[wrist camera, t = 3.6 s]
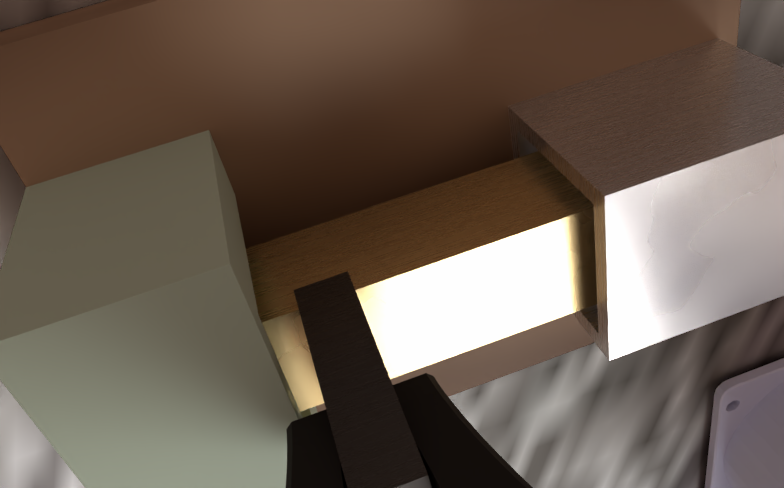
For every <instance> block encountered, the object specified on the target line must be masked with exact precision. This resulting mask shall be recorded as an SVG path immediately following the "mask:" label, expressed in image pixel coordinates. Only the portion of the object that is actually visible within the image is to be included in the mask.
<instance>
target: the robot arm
mask: <svg viewBox="0 0 784 488" xmlns="http://www.w3.org/2000/svg"><path fill="white" fill-rule="evenodd" d="M393 387H394V390H395V392H396V395H397V397H398V400H399V402H400V405H401V407H402V410H403V413H404V415H405V418H406V420H407V423H408V425H409V428H410V430H411V433H412V435H413V438H414V441H415V443H416V446H417V448H418V451H419V453H420V456H421V458H422V461H423V463H424V466H425V468H426V471H427V474H428V476H429V480H430V483H431V487H432V488H532V487H531V486H530V485H529V484H528V483H527V482H526V481H525V480H524V479H523V478H522V477H521V476H520V475H519V474H518V473H517V472H516V471H515V470H514V469H513V468H512V467H511V466H510V465H509V464H508V463H507V462H506V461H505V460H504V459H503V458H502V457H501V456H500V455H499V454H498V453H497V452H496V451H495V450H494V449H493V448H492V447H491V446H490V445H489V444H488V443H487V442H486V441H485V440H484V439H483V437H482V436H481V435H480V434H479V433H478V432H477V431H476V430H475V429H474V427H473V426H472V425H471V424H470V423H469V422H468V421H467V419H466V418H465V417H464V416H463V415H462V414H461V412H460V411H459V410H458V409H457V408H456V406H455V405H454V404H453V403H452V401H451V400H450V399H449V397H448V396H447V395H446V393H445V392H444V391H443V389H442V388H441V386H440V385H439V384H438V382H437V381H436V379H435V377H434V376H432V375H430V374H427V373H425V374H422V375H419V376H416V377H414V378H411V379H408V380H405V381H403V382H400V383H397V384H394V385H393ZM286 431H287V473H286V488H347V484H346V480H345V477H344V473H343V469H342V466H341V462H340V459H339V455H338V451H337V448H336V444H335V440H334V437H333V433H332V429H331V426H330V422H329V418H328V415H327V411H326V409H325V410H323V411H320V412H317V413H314V414H312V415H309V416H306V417H303V418H301V419H298V420H295V421H292V422H291V423H290V425H289V426H288V428H287V429H286ZM705 488H784V358H782V359H780V360H777V361H774V362H772V363H769V364H767V365H764V366H761V367H759V368H756V369H754V370H751V371H748V372H746V373H743V374H741V375H738V376H735V377H733V378H730V379H728V380H726V381H724V382H722V383H721V384H720V385H719V386H718V387H717V388H716V391H715V394H714V403H713V413H712V423H711V432H710V442H709V451H708V461H707V470H706V480H705Z"/></svg>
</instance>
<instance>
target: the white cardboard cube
mask: <svg viewBox="0 0 784 488" xmlns="http://www.w3.org/2000/svg"><path fill="white" fill-rule="evenodd" d="M508 113H509V121H510V130H511V139H512V147H513V156H514V159H516V158H519V157H522V156H525V155H528V154H531V153H534V152H537V151H539V152H540V153H541V154H542V155H543V156H544V157H545V158H546V159H547V160H548V161H550V162H551V163H552V164H553V165H554V166H555V167H556V168H557V169H558V170H559V171H560V172H561V173H562V174H563V175H564V176H565V177H566V178H567V179H568V180H569V181H570V182H571V183H572V184H573V185H574V186H575V187H576V188H577V189H578V190H579V191H580V192H581V193H582V194H584V195H585V196H586V197H587V198H588V199H589V200H590V201H591V202H592V203H593V206H594V231H595V257H596V282H597V304H596V305H593V306H590V307H588V308H585V309H582V310H579V311H577V312H574V313H572V314H573V315H574V316H575V318H576V319H577V320H578V321H579V323H580V324H581V325H582V326H583V328H584V329H585V330H586V332H587V333H588V334H589V335H590V337H591V338H592V339H593V341H594V342H595V343H596V344H597V346H598V347H599V348H600V350H601V351H602V352H603V353H604V355H605V356H606V357H607V358H608V360H609V361H610V360H613V359H615V358H618V357H621V356H623V355H626V354H629V353H631V352H634V351H637V350H639V349H642V348H645V347H647V346H650V345H653V344H655V343H658V342H661V341H663V340H666V339H669V338H672V337H674V336H677V335H680V334H682V333H685V332H688V331H690V330H693V329H696V328H698V327H701V326H704V325H706V324H709V323H712V322H714V321H717V320H720V319H722V318H725V317H728V316H731V315H733V314H736V313H739V312H741V311H744V310H747V309H749V308H752V307H755V306H757V305H760V304H763V303H765V302H768V301H771V300H773V299H776V298H779V297H781V296H784V68H782V67H780V66H778V65H775V64H773V63H771V62H769V61H767V60H765V59H762V58H760V57H758V56H756V55H754V54H752V53H749V52H747V51H745V50H743V49H741V48H739V47H736V46H734V45H732V44H730V43H728V42H726V41H723V40H721V39H719V38H716V39H713V40H710V41H707V42H704V43H701V44H697V45H694V46H691V47H688V48H685V49H682V50H679V51H676V52H673V53H670V54H667V55H664V56H661V57H657V58H654V59H651V60H648V61H645V62H642V63H639V64H636V65H633V66H630V67H627V68H624V69H621V70H617V71H614V72H611V73H608V74H605V75H602V76H599V77H596V78H593V79H590V80H587V81H584V82H581V83H577V84H574V85H571V86H568V87H565V88H562V89H559V90H556V91H553V92H550V93H547V94H544V95H541V96H537V97H534V98H531V99H528V100H525V101H522V102H519V103H516V104H513V105H510V106H508Z"/></svg>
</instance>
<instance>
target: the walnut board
mask: <svg viewBox="0 0 784 488" xmlns="http://www.w3.org/2000/svg"><path fill="white" fill-rule="evenodd" d="M740 4H741V0H108V1H104V2H101V3H98V4H94V5H91V6H87V7H84V8H80V9H77V10H73V11H70V12H66V13H63V14H59V15H56V16H53V17H49V18H46V19H42V20H39V21H35V22H32V23H28V24H25V25H21V26H18V27H14V28H11V29H8V30H4V31H1V32H0V145H1V147H2V149H3V150H4V152H5V154H6V155H7V157H8V159H9V160H10V162H11V164H12V165H13V167H14V168H15V170H16V172H17V173H18V175H19V177H20V178H21V180H22V182H23V183H24V185H25V186H26V187H29V186H32V185H35V184H38V183H41V182H44V181H48V180H51V179H54V178H57V177H60V176H64V175H67V174H70V173H73V172H76V171H80V170H83V169H86V168H89V167H92V166H96V165H99V164H102V163H105V162H108V161H111V160H115V159H118V158H121V157H124V156H127V155H131V154H134V153H137V152H140V151H143V150H147V149H150V148H153V147H156V146H159V145H162V144H166V143H169V142H172V141H175V140H178V139H182V138H185V137H188V136H191V135H194V134H198V133H201V132H204V131H207V130H209V131H210V134H211V136H212V139H213V141H214V144H215V146H216V149H217V151H218V154H219V156H220V159H221V161H222V164H223V166H224V169H225V171H226V174H227V176H228V179H229V181H230V184H231V186H232V188H233V191H234V193H235V197H236V202H237V207H238V212H239V218H240V223H241V228H242V233H243V238H244V243H245V248H249V247H252V246H255V245H258V244H261V243H264V242H267V241H270V240H273V239H276V238H279V237H282V236H285V235H288V234H291V233H294V232H297V231H300V230H303V229H306V228H309V227H312V226H315V225H318V224H321V223H324V222H327V221H330V220H333V219H336V218H339V217H342V216H345V215H348V214H351V213H354V212H357V211H360V210H363V209H366V208H369V207H372V206H375V205H378V204H381V203H384V202H387V201H390V200H393V199H396V198H399V197H402V196H405V195H408V194H411V193H414V192H417V191H420V190H423V189H426V188H429V187H432V186H435V185H438V184H441V183H444V182H447V181H450V180H453V179H456V178H459V177H462V176H465V175H468V174H471V173H474V172H477V171H480V170H483V169H486V168H489V167H492V166H495V165H498V164H501V163H504V162H507V161H510V160H513V159H514V156H513V147H512V139H511V130H510V121H509V113H508V106H510V105H513V104H516V103H519V102H522V101H525V100H528V99H531V98H534V97H537V96H541V95H544V94H547V93H550V92H553V91H556V90H559V89H562V88H565V87H568V86H571V85H574V84H577V83H581V82H584V81H587V80H590V79H593V78H596V77H599V76H602V75H605V74H608V73H611V72H614V71H617V70H621V69H624V68H627V67H630V66H633V65H636V64H639V63H642V62H645V61H648V60H651V59H654V58H657V57H661V56H664V55H667V54H670V53H673V52H676V51H679V50H682V49H685V48H688V47H691V46H694V45H697V44H701V43H704V42H707V41H710V40H713V39H716V38H719V39H721V40H723V41H726V42H728V43H730V44H732V45H734V46H736V47H737V37H738V26H739V15H740ZM592 343H595V342H594V341H593V339H592V338H591V337H590V335H589V334H588V333H587V332H586V330H585V329H584V328H583V326H582V325H581V324H580V323H579V321H578V320H577V319H576V318H575V316H574V315H573V314H572V313H571V314H568V315H566V316H563V317H560V318H557V319H555V320H552V321H549V322H546V323H544V324H541V325H538V326H535V327H533V328H530V329H527V330H524V331H521V332H519V333H516V334H513V335H510V336H508V337H505V338H502V339H499V340H497V341H494V342H491V343H488V344H486V345H483V346H480V347H477V348H475V349H472V350H469V351H466V352H464V353H461V354H458V355H455V356H453V357H450V358H447V359H444V360H442V361H439V362H436V363H433V364H431V365H428V366H425V367H422V368H419V369H417V370H414V371H411V372H408V373H406V374H403V375H400V376H397V377H395V378H392V379H390V380H391V382H392V385H394V384H397V383H400V382H403V381H405V380H408V379H411V378H414V377H416V376H419V375H422V374H425V373H427V374H430V375H432V376H434V377H435V379H436V381H437V382H438V384H439V385H440V386H441V388H442V389H443V391H444V392H445V393H446V395H447V396H451V395H454V394H457V393H459V392H462V391H465V390H467V389H470V388H473V387H476V386H478V385H481V384H484V383H486V382H489V381H492V380H494V379H497V378H500V377H503V376H505V375H508V374H511V373H513V372H516V371H519V370H522V369H524V368H527V367H530V366H532V365H535V364H538V363H541V362H543V361H546V360H549V359H551V358H554V357H557V356H560V355H562V354H565V353H568V352H570V351H573V350H576V349H578V348H581V347H584V346H587V345H589V344H592ZM316 408H317V412H320V411H323V410H325V409H326V407H325V404H324V403H323V404H320V405H317V406H316Z"/></svg>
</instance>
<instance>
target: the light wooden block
mask: <svg viewBox="0 0 784 488" xmlns="http://www.w3.org/2000/svg"><path fill="white" fill-rule="evenodd" d="M246 253H247V258H248V263H249V269H250V274H251V279H252V284H253V289H254V294H255V299H256V304H257V309H258V314H259V317H260V320H261V322H262V324H263V327H264V329H265V331H266V334H267V336H268V338H269V341H270V343H271V345H272V348H273V350H274V352H275V354H276V357H277V359H278V361H279V364H280V366H281V368H282V371H283V373H284V375H285V378H286V380H287V382H288V385H289V387H290V389H291V392H292V394H293V396H294V399H295V401H296V403H297V405H298V408H299V410H300V412H301V411H304V410H306V409H309V408H312V407H315V406H317V405H320V404H323V403H324V404H325V407H326V411H327V415H328V418H329V422H330V426H331V429H332V433H333V437H334V440H335V444H336V448H337V451H338V455H339V459H340V462H341V466H342V469H343V473H344V477H345V480H346V484H347V488H432V487H431V483H430V480H429V476H428V474H427V471H426V468H425V466H424V463H423V461H422V458H421V456H420V453H419V451H418V448H417V446H416V443H415V441H414V438H413V435H412V433H411V430H410V428H409V425H408V423H407V420H406V418H405V415H404V413H403V410H402V407H401V405H400V402H399V400H398V397H397V395H396V392H395V390H394V387H393V385H392V382H391V380H390V379H392V378H395V377H397V376H400V375H403V374H406V373H408V372H411V371H414V370H417V369H419V368H422V367H425V366H428V365H431V364H433V363H436V362H439V361H442V360H444V359H447V358H450V357H453V356H455V355H458V354H461V353H464V352H466V351H469V350H472V349H475V348H477V347H480V346H483V345H486V344H488V343H491V342H494V341H497V340H499V339H502V338H505V337H508V336H510V335H513V334H516V333H519V332H521V331H524V330H527V329H530V328H533V327H535V326H538V325H541V324H544V323H546V322H549V321H552V320H555V319H557V318H560V317H563V316H566V315H568V314H571V313H574V312H577V311H579V310H582V309H585V308H588V307H590V306H593V305H596V304H597V282H596V257H595V231H594V206H593V203H592V202H591V201H590V200H589V199H588V198H587V197H586V196H585V195H584V194H582V193H581V192H580V191H579V190H578V189H577V188H576V187H575V186H574V185H573V184H572V183H571V182H570V181H569V180H568V179H567V178H566V177H565V176H564V175H563V174H562V173H561V172H560V171H559V170H558V169H557V168H556V167H555V166H554V165H553V164H552V163H551V162H550V161H548V160H547V159H546V158H545V157H544V156H543V155H542V154H541V153H540V152H539V151H537V152H534V153H531V154H528V155H525V156H522V157H519V158H516V159H513V160H510V161H507V162H504V163H501V164H498V165H495V166H492V167H489V168H486V169H483V170H480V171H477V172H474V173H471V174H468V175H465V176H462V177H459V178H456V179H453V180H450V181H447V182H444V183H441V184H438V185H435V186H432V187H429V188H426V189H423V190H420V191H417V192H414V193H411V194H408V195H405V196H402V197H399V198H396V199H393V200H390V201H387V202H384V203H381V204H378V205H375V206H372V207H369V208H366V209H363V210H360V211H357V212H354V213H351V214H348V215H345V216H342V217H339V218H336V219H333V220H330V221H327V222H324V223H321V224H318V225H315V226H312V227H309V228H306V229H303V230H300V231H297V232H294V233H291V234H288V235H285V236H282V237H279V238H276V239H273V240H270V241H267V242H264V243H261V244H258V245H255V246H252V247H249V248H246Z"/></svg>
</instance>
